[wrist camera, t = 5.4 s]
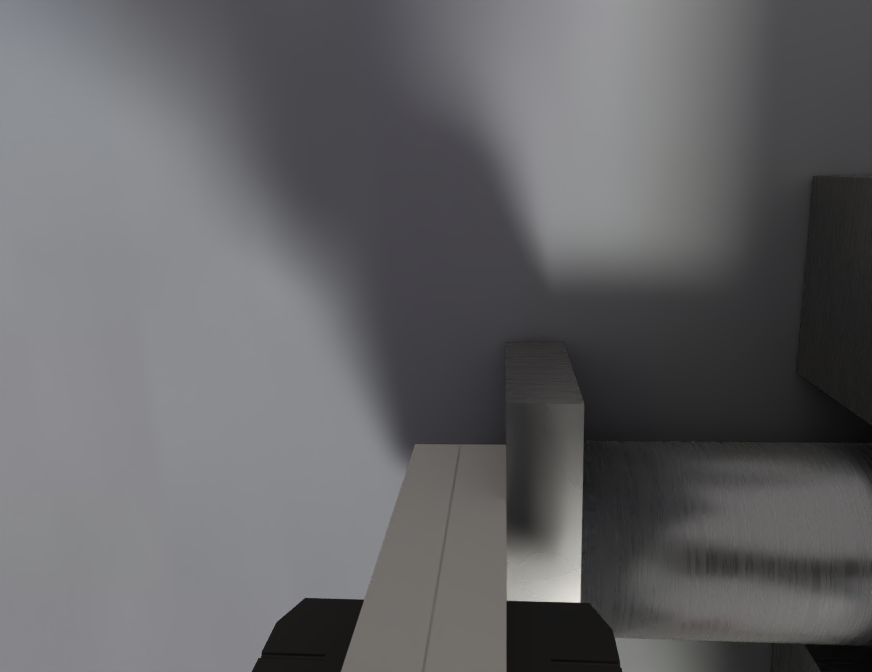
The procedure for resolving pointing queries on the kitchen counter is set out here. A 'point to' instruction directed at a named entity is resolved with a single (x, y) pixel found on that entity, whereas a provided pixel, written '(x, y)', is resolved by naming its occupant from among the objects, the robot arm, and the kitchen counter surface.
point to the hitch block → (836, 348)
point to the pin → (682, 523)
